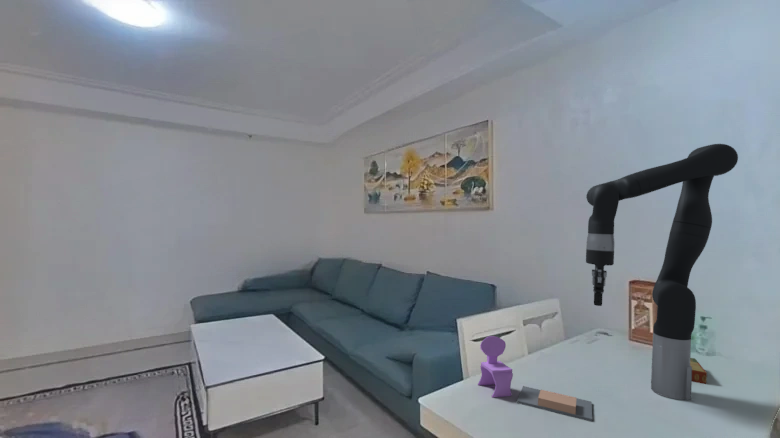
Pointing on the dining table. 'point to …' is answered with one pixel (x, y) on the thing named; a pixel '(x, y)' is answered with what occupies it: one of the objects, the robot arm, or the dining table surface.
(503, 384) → the toy chair
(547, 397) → the block
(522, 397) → the mat
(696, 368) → the carton
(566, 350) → the dining table surface
